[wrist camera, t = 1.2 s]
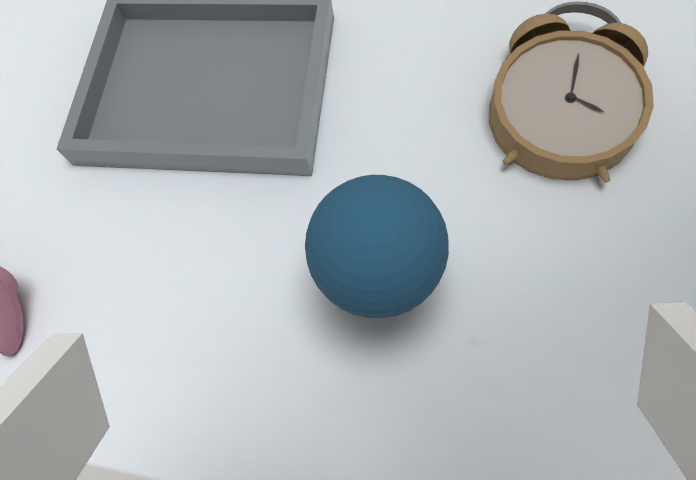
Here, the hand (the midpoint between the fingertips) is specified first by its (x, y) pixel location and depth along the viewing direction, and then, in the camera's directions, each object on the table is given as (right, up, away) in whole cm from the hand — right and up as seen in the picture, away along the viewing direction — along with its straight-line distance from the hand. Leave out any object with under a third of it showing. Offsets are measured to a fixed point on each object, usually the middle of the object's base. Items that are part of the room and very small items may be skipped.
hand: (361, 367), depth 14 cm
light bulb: (+2, 0, +28) cm, 28 cm away
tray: (-12, +16, +36) cm, 41 cm away
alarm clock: (+17, +14, +33) cm, 39 cm away
